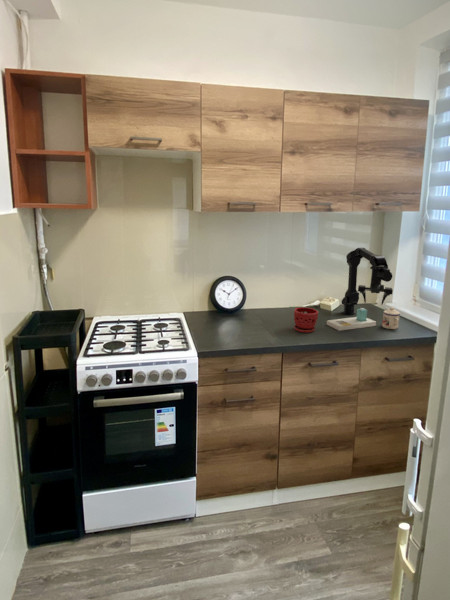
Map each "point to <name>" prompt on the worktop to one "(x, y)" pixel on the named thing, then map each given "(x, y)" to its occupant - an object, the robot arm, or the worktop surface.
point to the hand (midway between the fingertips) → (373, 303)
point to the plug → (361, 314)
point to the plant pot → (305, 319)
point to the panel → (350, 323)
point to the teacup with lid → (390, 319)
